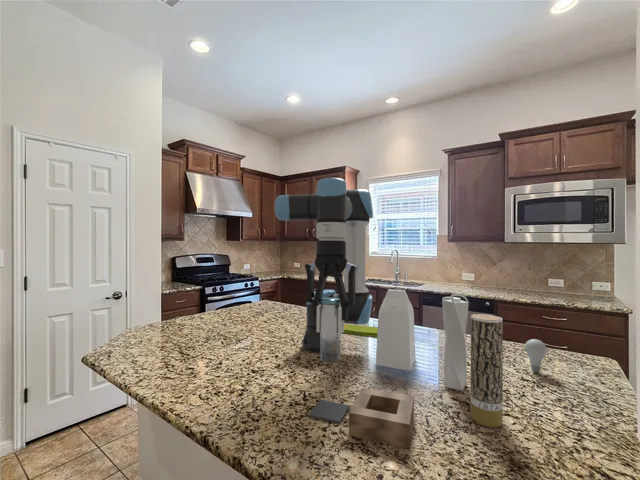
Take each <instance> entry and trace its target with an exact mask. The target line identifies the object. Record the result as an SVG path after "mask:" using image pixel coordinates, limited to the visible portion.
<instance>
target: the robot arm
mask: <svg viewBox="0 0 640 480" xmlns="http://www.w3.org/2000/svg"><path fill="white" fill-rule="evenodd" d="M316 185H317V186H316V193H313V194H284V195H281V194H280V195H278V196H277V197H276V199H275V201H274V215H275V216H276V218H277V219H278V220H279V221H287V222H289V221H316V239H318V240H317V241H316V242H315V243H316V244H315V248H316V251H315V253H316V254H315V255H316V256H315V257H316V258H315V260H314V261H313V262H310V263H306V264H305V265H304V268H305V272H306V290H305V291H306V294H305V295H306V297H305V298H306V299H305V301H306V304H305V305H306V329H305V332H304V334H303V339H302V341H301V348H302V349H303V351H305V352H309V353H314V354H320V324H321V299H322V298H339V299H340V307H339V308H338V335H340V336H342V333H344V324H349V325H367V324H368V323H369V322H370V318H371V313H372V308H373V307H372V306H373V298H374V297H373V295H371V294H370V290H369V289H368V288H367V287H366V234H367V233H366V227H367V226H368V225H369V224H370V219H373V218H374V212H373V211H374V210H373V202H372V196H371V192H370V191H369V190H368V189H363V188H361V189H359V188H357V189H356V188H355V189H347V182H346V180H344V179H343V178H340V177H325V178H321V179H319V180H318V181H317V184H316ZM316 269H317V270H318V271H319V273H318V274H319V275H318V281H317V285H316V288H315V276H316V274H315V271H316ZM328 277H331V278H333V279H334V282H335V285H336V288H337V293H336V291H335V290H334V289H325V286H326V282H327V279H328Z"/></svg>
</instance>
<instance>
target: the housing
mask: <svg viewBox="0 0 640 480" xmlns="http://www.w3.org/2000/svg"><path fill="white" fill-rule="evenodd" d="M354 400H355V401H354V402H353V404H352V406H351V408H350V410H349V411H348V436H351V437H356V438H359V439H364V440H369V441H372V442H376V443H377V442H378V443H382V444H387V445H392V446H395V447H399V448H402V449H403V448H404V449H408V450H410V447H411V441H412V435H413V434H412V433H413V424H414V418H415V417H414V416H415V407H414V406H415V396H413V395H407V394H401V393H396V392H391V391H383V390H379V389H372V388H368V387H367V388H366V387H361V388H360V391H359V393H358V395H357V396H356V399H354Z"/></svg>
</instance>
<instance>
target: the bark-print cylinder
mask: <svg viewBox="0 0 640 480" xmlns="http://www.w3.org/2000/svg"><path fill="white" fill-rule="evenodd" d="M503 323H504V322H503V317H500V316H497V315H494V314H493V315H492V314H488V313H487V314H486V313H484V314H483V313H473V314H471V315H470V417H471V419H472V420H473V422H475V423H476V424H478V425H479V426H482V427H485V428H492V429H494V428H500V427H501V426H502V425H503V406H504V405H503V402H504V401H503V400H504V399H503V397H504V396H503V391H504V389H503V387H504V386H503V381H504V380H503V378H504V377H503V372H504V370H503V369H504V368H503V360H504V359H503V348H504V347H503V344H504V343H503V341H504V339H503V335H504V334H503V329H504V328H503Z"/></svg>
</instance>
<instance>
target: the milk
mask: <svg viewBox="0 0 640 480" xmlns="http://www.w3.org/2000/svg"><path fill="white" fill-rule="evenodd" d="M377 317H378V318H377V327H378V333H377V338H376V349H375V350H376V351H375V352H376V355H375V366H381V367H387V368H392V369H397V370H403V371H404V370H405V371H408V372H409V371H410V372H411V371H412V368H413V366H414V365H415V362H416V361H417V359H416V357H417V356H416V337H415V336H416V334H415V312H414V307H413V305H412V303H411V301H410V299H409V296H408V294H407V292H406V290H403V289H387V292H386V293H385V297H384V298H383V301H382V303H381V306H380V308H379V312H378V316H377Z"/></svg>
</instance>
